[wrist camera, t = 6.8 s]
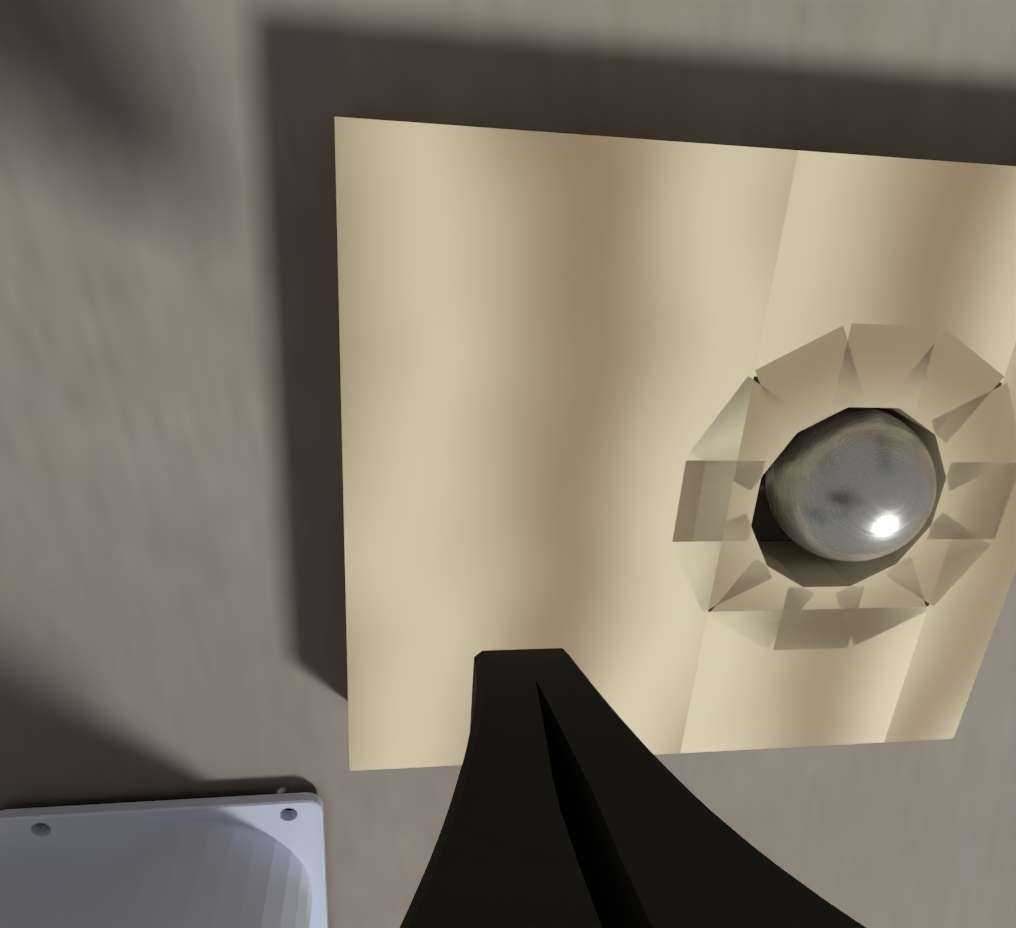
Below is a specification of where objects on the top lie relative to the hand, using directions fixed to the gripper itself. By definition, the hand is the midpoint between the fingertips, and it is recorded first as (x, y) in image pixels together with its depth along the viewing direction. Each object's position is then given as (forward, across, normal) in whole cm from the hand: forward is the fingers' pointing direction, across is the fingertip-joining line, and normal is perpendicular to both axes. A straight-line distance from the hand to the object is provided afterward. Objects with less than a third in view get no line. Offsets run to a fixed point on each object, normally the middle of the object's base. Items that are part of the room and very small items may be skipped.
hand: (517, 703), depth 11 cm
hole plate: (+9, -6, 0) cm, 11 cm away
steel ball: (+7, -10, 0) cm, 12 cm away
